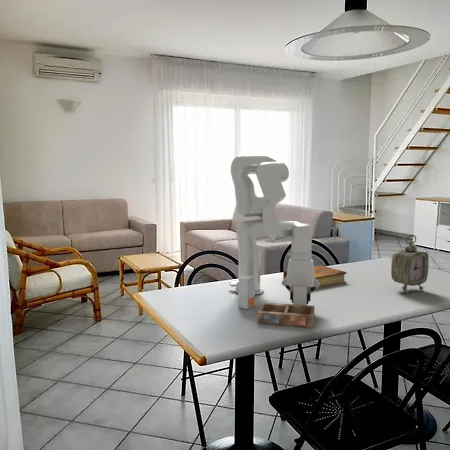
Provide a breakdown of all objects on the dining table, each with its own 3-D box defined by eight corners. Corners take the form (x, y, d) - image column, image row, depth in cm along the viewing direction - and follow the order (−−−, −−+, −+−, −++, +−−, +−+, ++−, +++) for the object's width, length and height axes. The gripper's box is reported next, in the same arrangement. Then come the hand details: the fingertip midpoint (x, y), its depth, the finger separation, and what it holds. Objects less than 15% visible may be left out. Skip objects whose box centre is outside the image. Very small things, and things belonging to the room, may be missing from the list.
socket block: (257, 323, 155) (257, 312, 154) (263, 312, 167) (263, 302, 166) (312, 328, 150) (312, 316, 150) (314, 316, 162) (314, 305, 162)
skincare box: (247, 309, 171) (247, 279, 169) (238, 307, 173) (238, 277, 172) (255, 305, 176) (255, 276, 174) (245, 303, 178) (245, 274, 177)
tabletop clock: (406, 295, 188) (409, 237, 184) (388, 290, 195) (391, 234, 192) (427, 290, 195) (430, 234, 192) (409, 285, 203) (411, 232, 200)
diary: (319, 275, 226) (319, 264, 225) (346, 283, 210) (346, 272, 209) (283, 281, 214) (283, 269, 213) (308, 290, 198) (309, 277, 197)
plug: (292, 309, 169) (293, 281, 167) (294, 305, 174) (294, 277, 172) (306, 310, 168) (306, 282, 166) (307, 306, 172) (307, 278, 171)
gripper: (277, 257, 166) (276, 303, 169) (323, 259, 162) (322, 307, 165) (280, 253, 173) (279, 298, 176) (324, 255, 169) (323, 301, 172)
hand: (300, 301), depth 170 cm, fingers closed on plug, 5 cm apart
